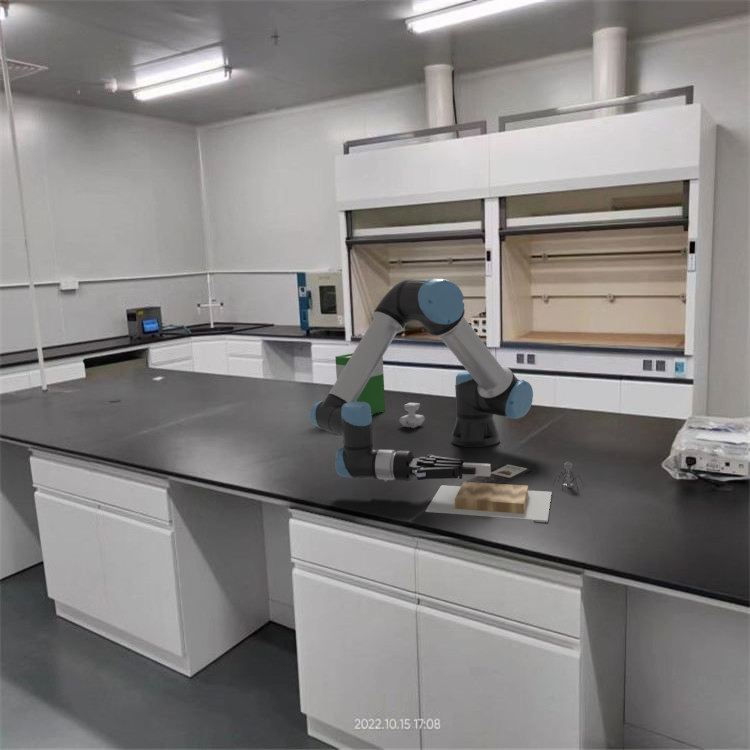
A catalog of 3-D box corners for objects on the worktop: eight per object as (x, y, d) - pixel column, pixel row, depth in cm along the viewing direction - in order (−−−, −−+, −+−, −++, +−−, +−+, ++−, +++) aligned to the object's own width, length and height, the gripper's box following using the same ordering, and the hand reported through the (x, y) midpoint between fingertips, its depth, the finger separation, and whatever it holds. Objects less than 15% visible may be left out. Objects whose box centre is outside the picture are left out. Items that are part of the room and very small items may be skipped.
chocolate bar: (466, 481, 171) (503, 463, 184) (466, 484, 171) (503, 466, 184) (495, 488, 165) (532, 469, 178) (495, 492, 165) (532, 472, 178)
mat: (441, 487, 170) (441, 485, 170) (551, 493, 161) (551, 491, 161) (425, 513, 153) (425, 511, 153) (547, 522, 144) (547, 520, 144)
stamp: (411, 422, 236) (410, 400, 235) (427, 424, 232) (426, 401, 231) (397, 428, 229) (396, 405, 228) (412, 430, 225) (411, 407, 224)
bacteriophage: (548, 489, 165) (548, 463, 164) (560, 479, 171) (560, 455, 170) (575, 494, 161) (575, 468, 159) (586, 484, 167) (587, 459, 166)
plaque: (463, 481, 164) (528, 485, 159) (463, 490, 165) (528, 494, 160) (454, 499, 153) (523, 503, 148) (454, 508, 153) (523, 513, 148)
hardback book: (372, 408, 261) (369, 350, 257) (385, 411, 256) (382, 351, 251) (339, 417, 249) (335, 356, 245) (352, 420, 244) (348, 357, 239)
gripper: (403, 471, 169) (494, 476, 162) (389, 488, 157) (486, 494, 150) (402, 443, 168) (493, 447, 161) (387, 459, 156) (485, 463, 148)
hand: (490, 470), depth 155 cm, fingers closed
